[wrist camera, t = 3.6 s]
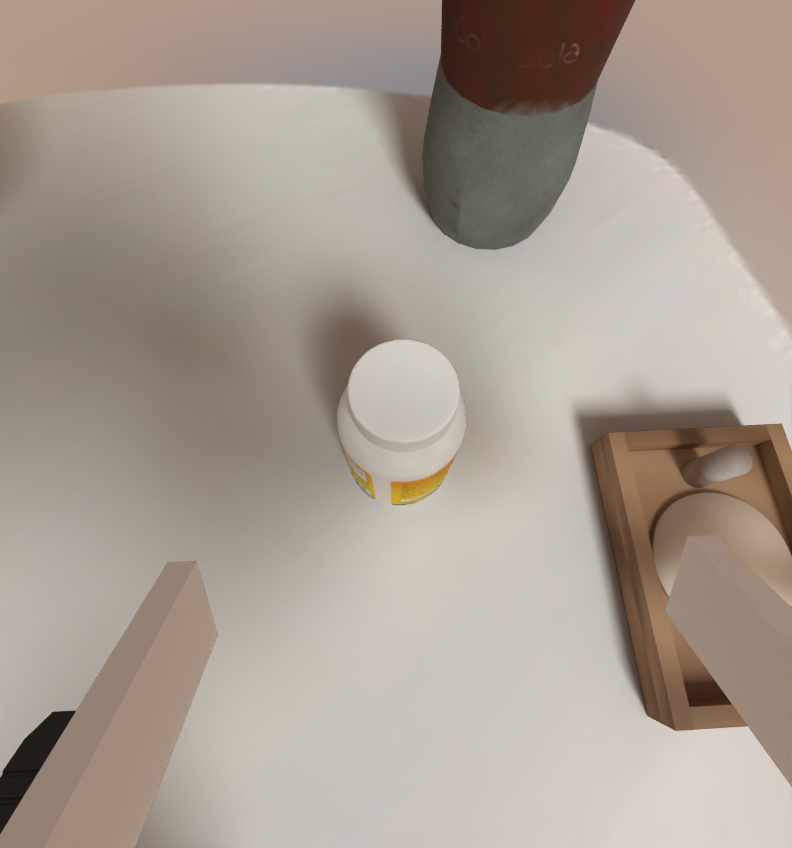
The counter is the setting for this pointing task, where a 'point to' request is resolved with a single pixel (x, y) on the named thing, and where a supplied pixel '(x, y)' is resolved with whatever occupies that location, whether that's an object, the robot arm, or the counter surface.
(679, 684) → the pin tray
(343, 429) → the supplement bottle
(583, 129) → the vodka
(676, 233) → the counter surface
